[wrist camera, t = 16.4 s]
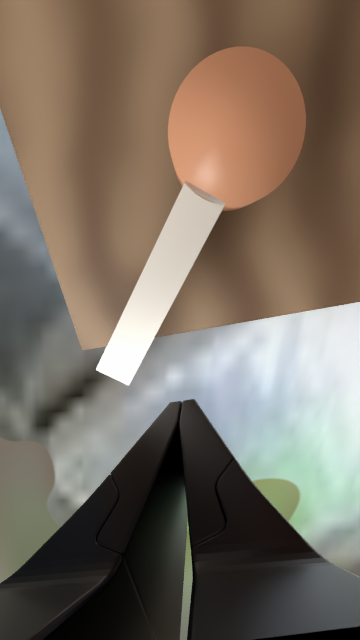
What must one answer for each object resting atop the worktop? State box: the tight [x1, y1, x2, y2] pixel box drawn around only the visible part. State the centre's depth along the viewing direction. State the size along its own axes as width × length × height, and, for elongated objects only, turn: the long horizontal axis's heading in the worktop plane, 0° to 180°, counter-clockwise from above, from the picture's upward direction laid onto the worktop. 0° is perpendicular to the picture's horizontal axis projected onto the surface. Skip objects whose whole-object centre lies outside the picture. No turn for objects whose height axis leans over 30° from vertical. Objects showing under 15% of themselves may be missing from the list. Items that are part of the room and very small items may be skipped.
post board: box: [0, 0, 360, 350], centre depth 16 cm, size 24×20×3 cm
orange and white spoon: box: [96, 46, 306, 385], centre depth 14 cm, size 16×6×3 cm, turn 153°
